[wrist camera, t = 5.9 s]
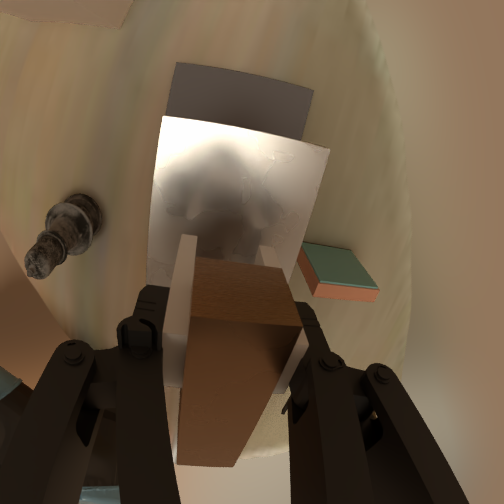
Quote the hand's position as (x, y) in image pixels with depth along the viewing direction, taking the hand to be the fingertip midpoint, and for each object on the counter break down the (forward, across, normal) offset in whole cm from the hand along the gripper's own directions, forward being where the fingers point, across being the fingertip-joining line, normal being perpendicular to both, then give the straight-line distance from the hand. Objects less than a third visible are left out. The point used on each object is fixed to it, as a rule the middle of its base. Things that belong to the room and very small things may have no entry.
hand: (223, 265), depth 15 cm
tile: (+16, +13, -6) cm, 22 cm away
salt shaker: (+17, -15, -6) cm, 23 cm away
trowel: (+2, 0, -1) cm, 2 cm away
